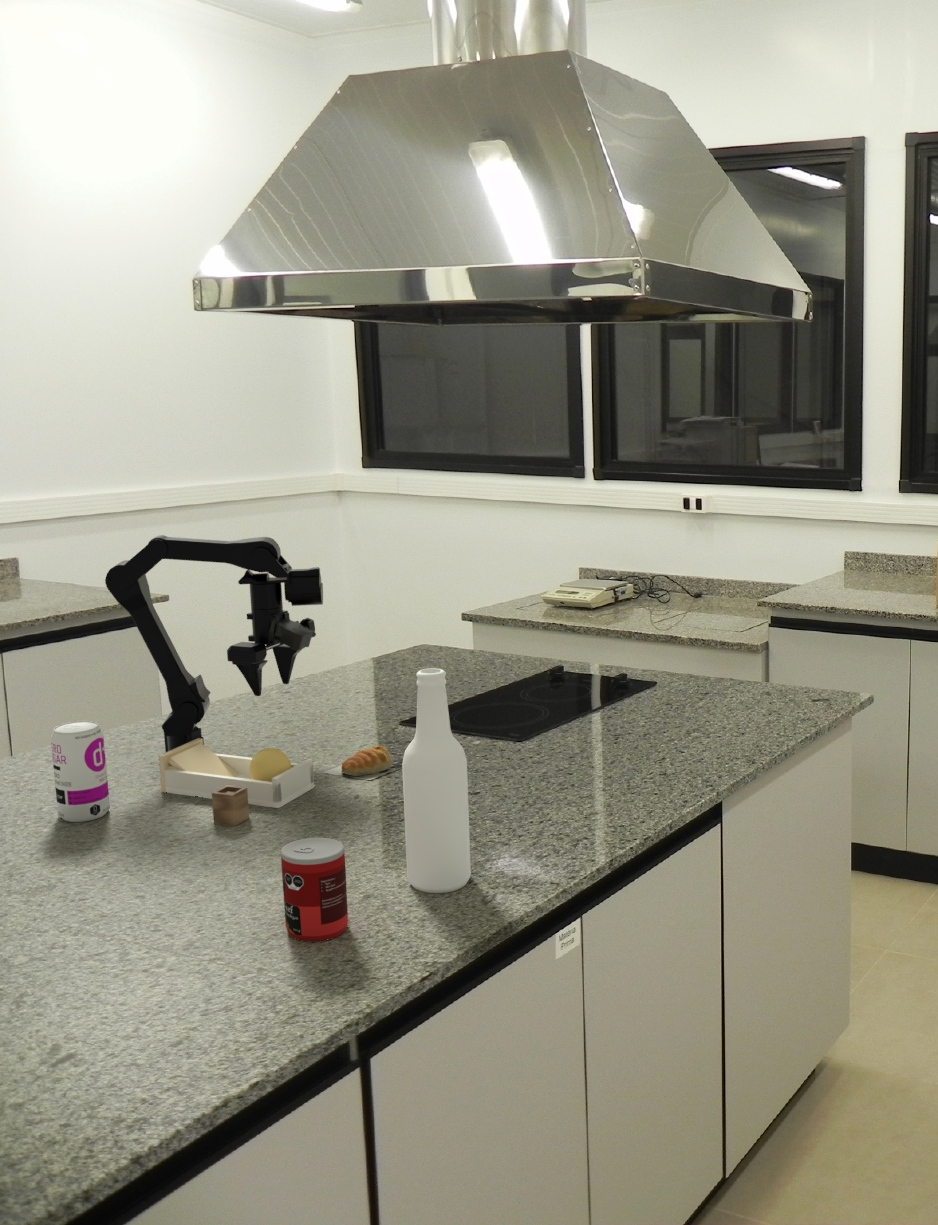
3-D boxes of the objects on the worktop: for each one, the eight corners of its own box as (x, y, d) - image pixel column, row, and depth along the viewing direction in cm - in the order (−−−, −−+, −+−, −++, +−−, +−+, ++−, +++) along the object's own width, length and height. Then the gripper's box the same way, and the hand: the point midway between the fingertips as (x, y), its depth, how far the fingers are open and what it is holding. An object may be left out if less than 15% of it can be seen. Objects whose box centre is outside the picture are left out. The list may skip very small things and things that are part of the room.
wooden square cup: (213, 823, 194) (211, 792, 193) (228, 814, 198) (226, 784, 197) (234, 826, 193) (232, 795, 192) (249, 817, 196) (247, 787, 195)
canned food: (287, 918, 159) (282, 838, 157) (349, 914, 159) (344, 835, 157) (283, 945, 151) (278, 861, 149) (348, 941, 152) (343, 857, 150)
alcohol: (406, 871, 173) (397, 665, 167) (468, 867, 174) (461, 662, 168) (408, 896, 164) (398, 680, 159) (473, 892, 165) (466, 677, 159)
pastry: (357, 781, 213) (356, 760, 213) (332, 774, 218) (331, 753, 217) (396, 768, 220) (395, 747, 219) (371, 761, 225) (370, 741, 224)
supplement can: (120, 808, 203) (112, 721, 200) (89, 825, 195) (81, 735, 192) (79, 804, 206) (71, 718, 203) (47, 821, 198) (38, 732, 195)
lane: (161, 791, 210) (158, 755, 209) (200, 772, 220) (198, 738, 219) (278, 808, 200) (276, 770, 199) (314, 787, 210) (312, 751, 209)
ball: (257, 798, 203) (246, 758, 202) (254, 790, 209) (243, 752, 209) (297, 786, 204) (287, 746, 204) (293, 779, 211) (283, 740, 210)
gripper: (275, 618, 211) (280, 706, 214) (331, 600, 227) (335, 681, 230) (222, 615, 215) (228, 700, 218) (281, 597, 232) (285, 676, 235)
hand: (272, 689), depth 225 cm, fingers open, 9 cm apart
